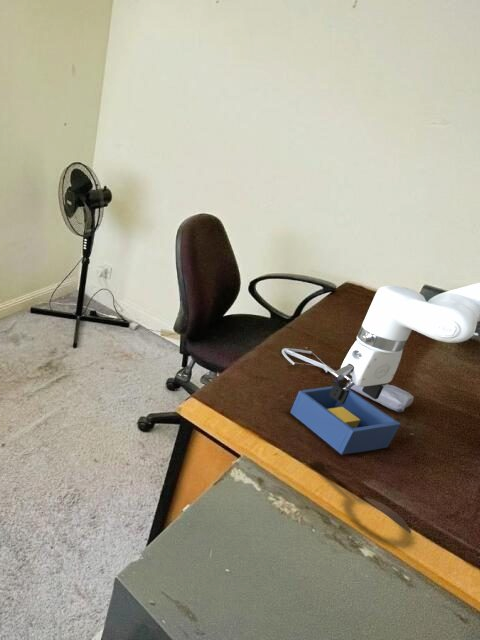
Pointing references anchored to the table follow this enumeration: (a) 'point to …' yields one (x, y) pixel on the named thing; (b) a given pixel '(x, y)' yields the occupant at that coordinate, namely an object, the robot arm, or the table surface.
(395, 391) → the stone block
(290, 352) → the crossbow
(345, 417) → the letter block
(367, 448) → the blue storage tray
